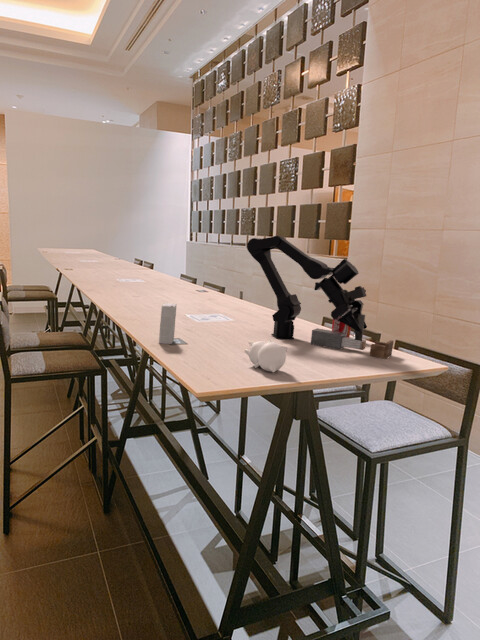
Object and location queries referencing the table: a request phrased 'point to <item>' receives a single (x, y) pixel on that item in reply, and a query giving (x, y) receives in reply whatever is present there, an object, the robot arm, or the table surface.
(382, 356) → the brown notched block
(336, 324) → the soda can
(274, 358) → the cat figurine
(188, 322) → the table surface
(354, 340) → the sliding bolt
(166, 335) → the skincare box
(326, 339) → the grey rectangular block
